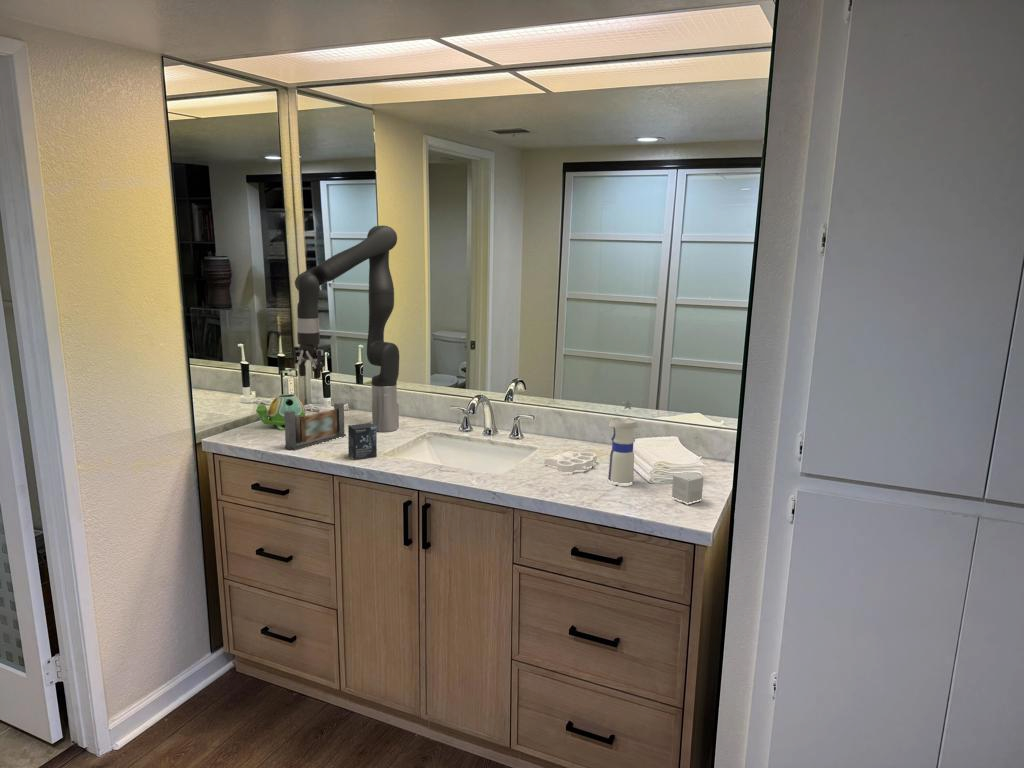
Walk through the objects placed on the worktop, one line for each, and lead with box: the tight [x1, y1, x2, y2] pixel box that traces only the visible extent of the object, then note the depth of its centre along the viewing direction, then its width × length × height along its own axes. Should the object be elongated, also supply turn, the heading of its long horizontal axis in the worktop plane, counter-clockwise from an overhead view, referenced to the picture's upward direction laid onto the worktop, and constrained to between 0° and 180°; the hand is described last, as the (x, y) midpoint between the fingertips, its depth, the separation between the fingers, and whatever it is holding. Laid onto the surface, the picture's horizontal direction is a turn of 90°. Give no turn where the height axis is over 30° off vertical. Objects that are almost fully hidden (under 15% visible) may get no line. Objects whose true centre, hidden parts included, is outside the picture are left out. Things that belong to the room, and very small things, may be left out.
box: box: [347, 422, 378, 461], centre depth 231 cm, size 8×6×11 cm
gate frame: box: [284, 402, 347, 451], centre depth 246 cm, size 24×5×13 cm, turn 146°
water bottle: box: [607, 398, 638, 483], centre depth 210 cm, size 8×8×25 cm
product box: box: [671, 471, 704, 503], centre depth 197 cm, size 6×6×7 cm
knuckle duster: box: [543, 450, 598, 472], centre depth 227 cm, size 3×18×15 cm
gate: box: [295, 409, 337, 444], centre depth 246 cm, size 18×2×10 cm, turn 146°
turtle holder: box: [255, 393, 306, 431], centre depth 265 cm, size 12×18×12 cm
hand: (309, 377), depth 250 cm, fingers open, 7 cm apart
